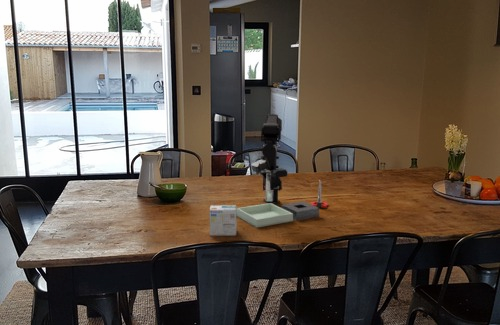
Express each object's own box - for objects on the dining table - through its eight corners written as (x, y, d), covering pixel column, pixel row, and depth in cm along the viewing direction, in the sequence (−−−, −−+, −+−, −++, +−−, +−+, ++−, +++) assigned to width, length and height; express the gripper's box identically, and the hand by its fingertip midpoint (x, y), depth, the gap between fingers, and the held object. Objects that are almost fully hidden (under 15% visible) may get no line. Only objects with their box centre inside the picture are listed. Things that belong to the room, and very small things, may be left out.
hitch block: (281, 213, 226) (281, 204, 225) (302, 209, 231) (303, 201, 231) (296, 220, 215) (296, 211, 215) (318, 216, 221) (319, 208, 220)
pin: (264, 200, 217) (264, 173, 215) (270, 199, 219) (270, 172, 216) (268, 201, 214) (268, 174, 212) (274, 200, 216) (275, 173, 214)
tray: (236, 215, 221) (236, 208, 220) (270, 210, 230) (270, 203, 229) (256, 227, 206) (256, 219, 205) (292, 221, 214) (292, 213, 214)
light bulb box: (236, 230, 203) (236, 204, 200) (236, 235, 196) (236, 209, 194) (210, 230, 202) (210, 204, 200) (209, 235, 196) (209, 209, 193)
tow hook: (310, 203, 244) (310, 207, 235) (311, 177, 242) (311, 180, 233) (328, 204, 242) (328, 208, 233) (329, 178, 240) (329, 181, 231)
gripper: (242, 151, 216) (242, 186, 219) (266, 159, 200) (265, 196, 204) (264, 149, 222) (263, 183, 225) (288, 156, 206) (287, 193, 209)
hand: (269, 189), depth 215 cm, fingers closed on pin, 3 cm apart
